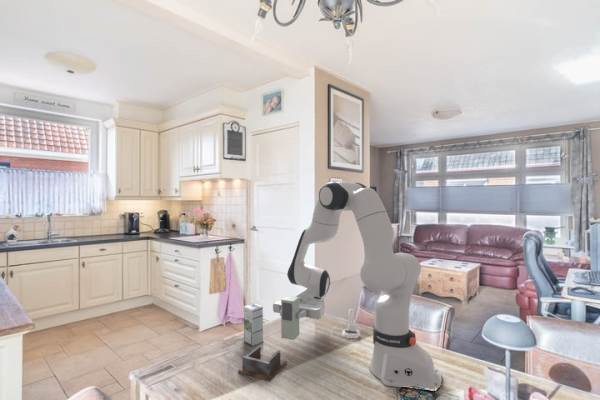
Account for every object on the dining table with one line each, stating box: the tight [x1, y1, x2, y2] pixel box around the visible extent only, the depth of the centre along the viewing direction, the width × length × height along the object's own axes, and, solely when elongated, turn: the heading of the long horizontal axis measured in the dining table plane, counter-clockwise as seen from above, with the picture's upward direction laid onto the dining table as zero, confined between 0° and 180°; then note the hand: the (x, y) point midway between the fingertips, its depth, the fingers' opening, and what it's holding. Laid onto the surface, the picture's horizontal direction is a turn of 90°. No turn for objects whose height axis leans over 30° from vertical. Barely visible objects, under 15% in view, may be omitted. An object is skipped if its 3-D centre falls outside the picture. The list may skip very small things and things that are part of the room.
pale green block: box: [280, 295, 300, 341], centre depth 117 cm, size 5×6×14 cm
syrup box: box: [243, 303, 264, 347], centre depth 128 cm, size 6×6×14 cm
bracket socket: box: [237, 345, 288, 382], centre depth 108 cm, size 12×12×5 cm
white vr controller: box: [341, 308, 361, 340], centre depth 136 cm, size 8×12×7 cm
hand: (289, 315), depth 117 cm, fingers closed on pale green block, 5 cm apart
